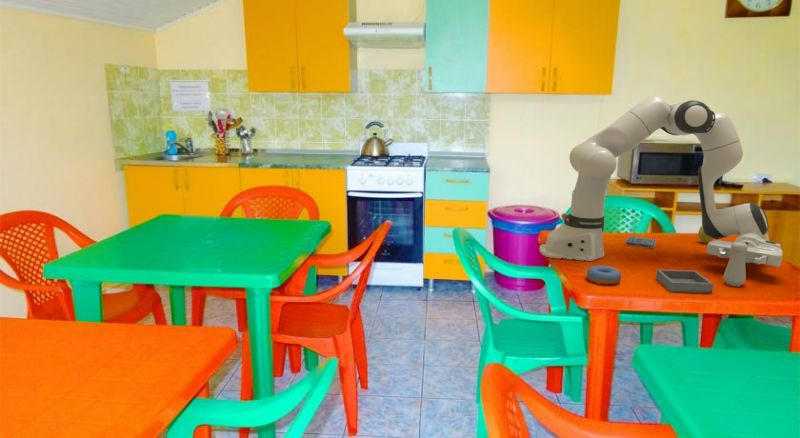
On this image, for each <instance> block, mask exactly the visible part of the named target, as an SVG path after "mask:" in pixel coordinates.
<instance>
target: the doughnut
mask: <svg viewBox="0 0 800 438" xmlns="http://www.w3.org/2000/svg"><path fill="white" fill-rule="evenodd" d="M586 277H587V279H588V280H589V281H590V282H591V281H592V283H594V282H595V283H594V284H596V283H599V284H598V285H601V284H615V285H617V284H619V283H620V281H621V279H622V275H621V272H620V270H618V269H617V268H615V267H612V266H608V265H593V266H591V267H589V268H588V269H587V271H586Z"/></svg>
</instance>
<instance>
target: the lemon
mask: <svg viewBox="0 0 800 438" xmlns="http://www.w3.org/2000/svg"><path fill="white" fill-rule="evenodd" d="M697 234H698V238H699V240H700V241H702V242H703V243H704V244H708V243H709V242H711V241H714V239H713V238H711V237H709V236H707V235H706V234H705V233H704V231H703V228H702V225H701V226H700V227H699V229H698V233H697Z"/></svg>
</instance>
